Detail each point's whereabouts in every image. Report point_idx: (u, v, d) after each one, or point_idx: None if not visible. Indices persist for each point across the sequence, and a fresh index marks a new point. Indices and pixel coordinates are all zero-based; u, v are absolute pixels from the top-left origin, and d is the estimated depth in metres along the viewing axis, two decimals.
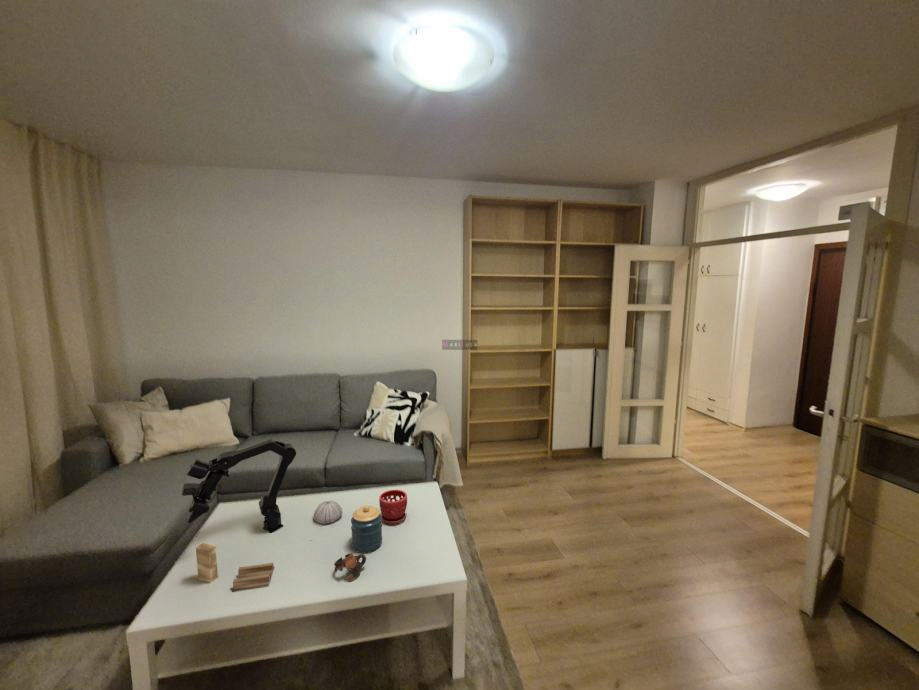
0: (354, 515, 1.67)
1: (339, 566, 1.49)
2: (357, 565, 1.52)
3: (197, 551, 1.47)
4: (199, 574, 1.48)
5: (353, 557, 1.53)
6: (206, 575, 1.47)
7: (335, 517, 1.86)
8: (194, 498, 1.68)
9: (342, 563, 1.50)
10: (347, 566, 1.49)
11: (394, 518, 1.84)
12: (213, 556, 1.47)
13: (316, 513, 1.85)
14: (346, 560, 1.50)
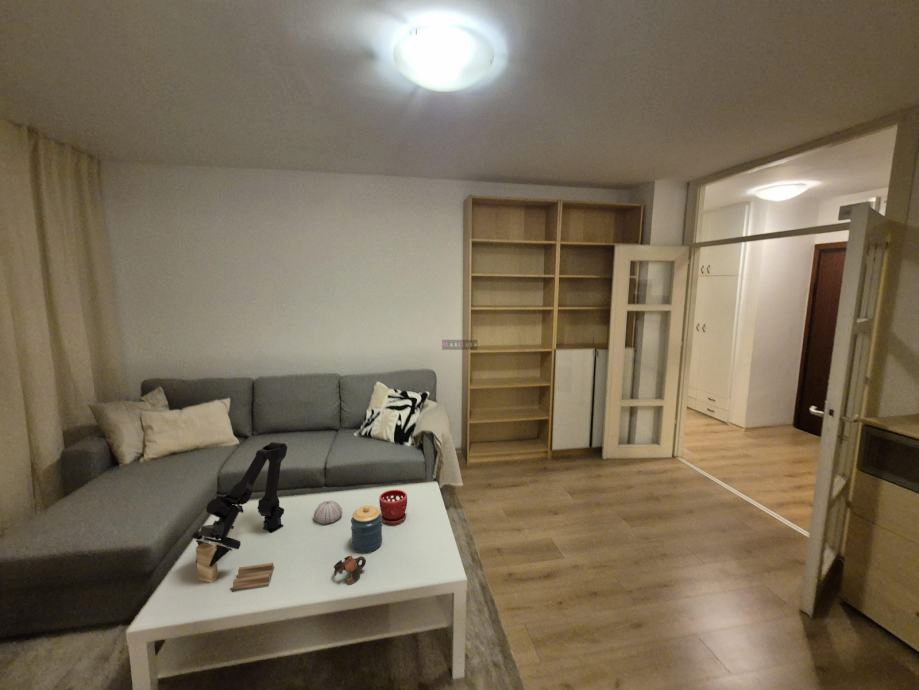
0: (354, 515, 1.67)
1: (339, 569, 1.48)
2: (357, 568, 1.50)
3: (197, 551, 1.47)
4: (199, 574, 1.48)
5: (353, 560, 1.52)
6: (206, 575, 1.47)
7: (335, 517, 1.86)
8: None
9: (342, 566, 1.48)
10: (347, 569, 1.47)
11: (394, 518, 1.84)
12: None
13: (316, 513, 1.85)
14: (346, 563, 1.49)
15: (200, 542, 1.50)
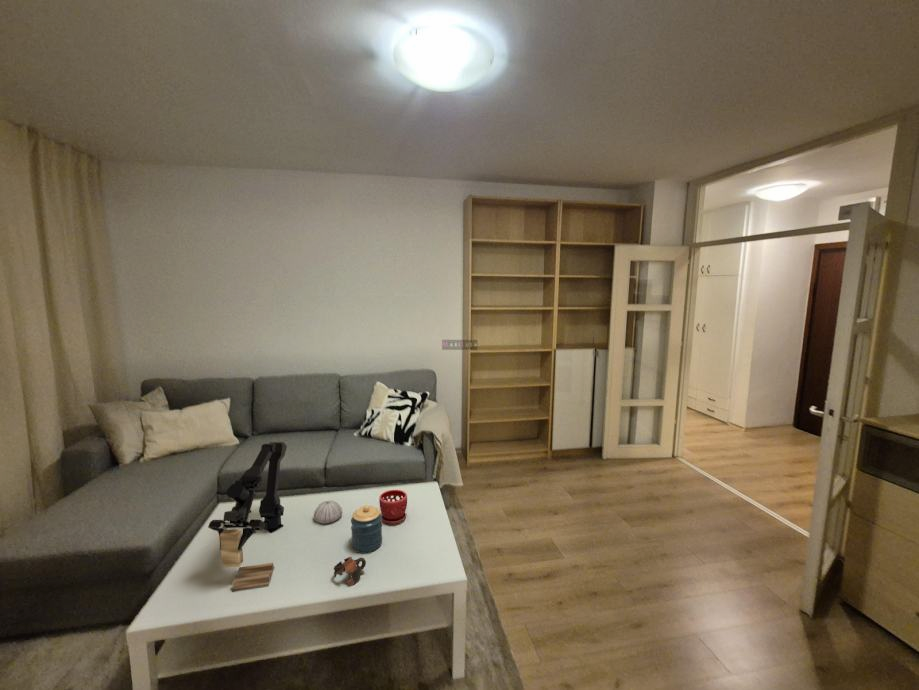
0: (354, 515, 1.67)
1: (339, 570, 1.47)
2: (357, 569, 1.50)
3: (222, 538, 1.44)
4: (224, 561, 1.45)
5: (353, 561, 1.51)
6: (233, 560, 1.45)
7: (335, 517, 1.86)
8: None
9: (342, 567, 1.47)
10: (347, 570, 1.47)
11: (394, 518, 1.84)
12: None
13: (316, 513, 1.85)
14: (346, 564, 1.48)
15: (221, 529, 1.47)
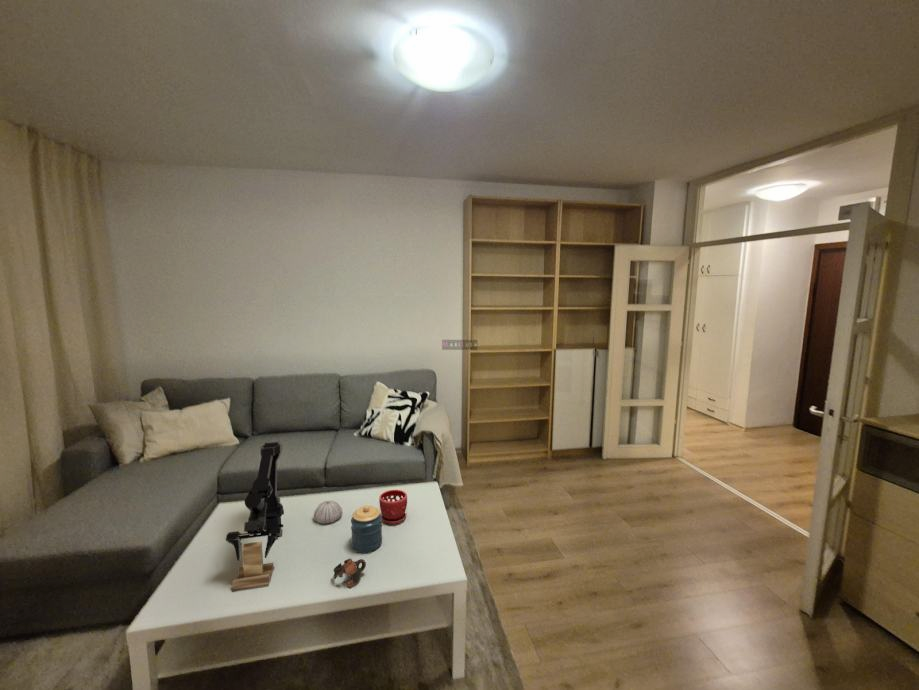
0: (354, 515, 1.67)
1: (339, 572, 1.46)
2: (357, 571, 1.49)
3: (244, 552, 1.45)
4: (246, 575, 1.47)
5: (353, 563, 1.50)
6: (255, 573, 1.47)
7: (335, 517, 1.85)
8: (238, 544, 1.48)
9: (342, 569, 1.46)
10: (347, 572, 1.46)
11: (394, 518, 1.84)
12: (261, 552, 1.49)
13: (316, 513, 1.85)
14: (346, 566, 1.47)
15: (236, 541, 1.47)
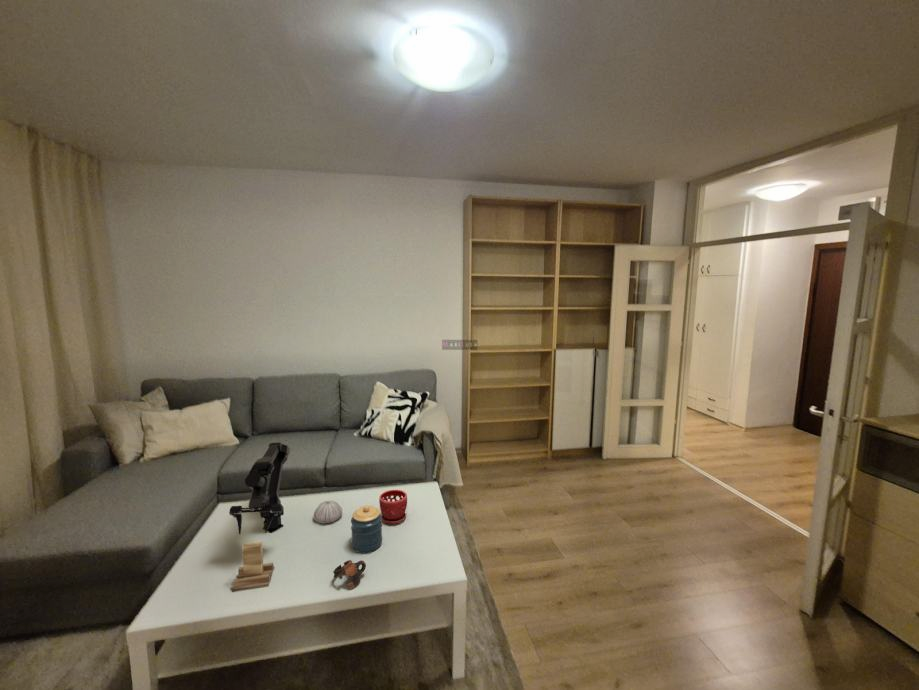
0: (354, 515, 1.67)
1: (339, 574, 1.45)
2: (357, 572, 1.48)
3: (244, 552, 1.45)
4: (246, 575, 1.47)
5: (353, 564, 1.49)
6: (255, 573, 1.47)
7: (335, 517, 1.85)
8: (241, 518, 1.56)
9: (342, 571, 1.45)
10: (347, 574, 1.45)
11: (394, 518, 1.84)
12: (261, 552, 1.49)
13: (316, 513, 1.85)
14: (346, 568, 1.46)
15: (239, 515, 1.55)
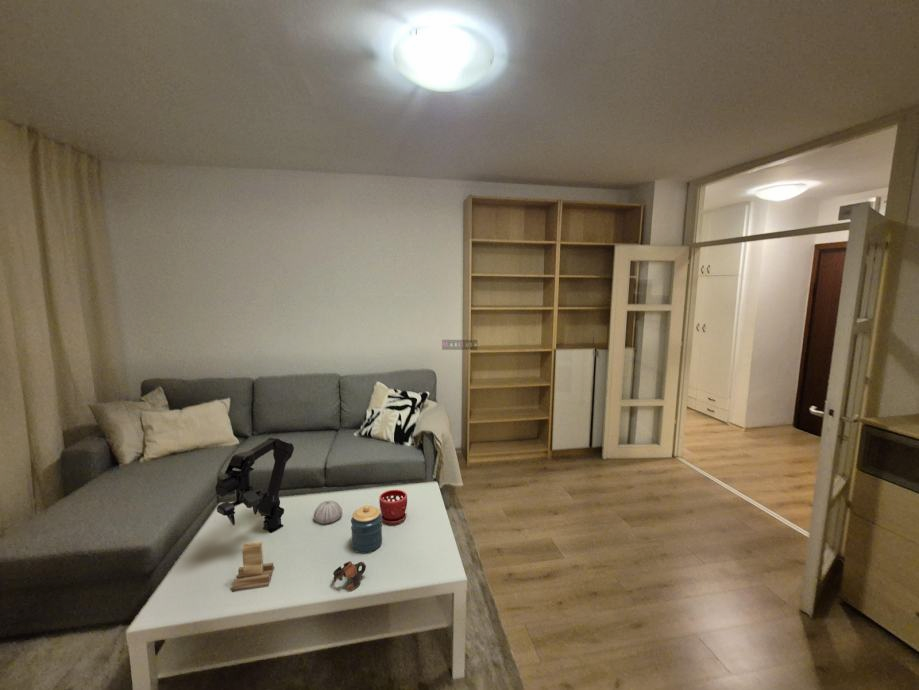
0: (354, 515, 1.67)
1: (339, 576, 1.44)
2: (357, 574, 1.47)
3: (244, 552, 1.45)
4: (246, 575, 1.47)
5: (353, 566, 1.48)
6: (255, 573, 1.47)
7: (335, 517, 1.85)
8: None
9: (342, 572, 1.45)
10: (347, 575, 1.44)
11: (394, 518, 1.84)
12: (261, 552, 1.49)
13: (316, 513, 1.85)
14: (346, 569, 1.46)
15: (234, 513, 1.58)
